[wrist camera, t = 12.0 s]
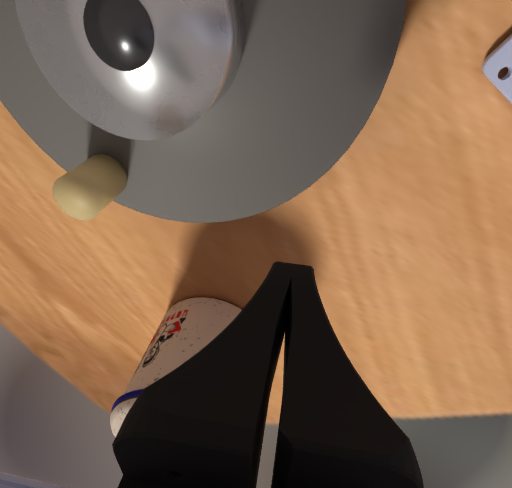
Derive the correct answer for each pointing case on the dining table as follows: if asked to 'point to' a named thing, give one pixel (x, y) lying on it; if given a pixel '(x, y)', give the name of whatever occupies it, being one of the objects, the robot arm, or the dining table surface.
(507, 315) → the dining table surface
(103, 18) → the cover
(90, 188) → the turntable
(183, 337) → the teacup with lid
